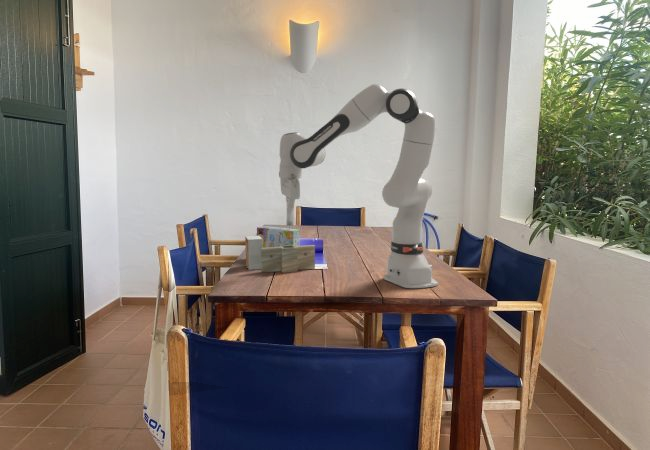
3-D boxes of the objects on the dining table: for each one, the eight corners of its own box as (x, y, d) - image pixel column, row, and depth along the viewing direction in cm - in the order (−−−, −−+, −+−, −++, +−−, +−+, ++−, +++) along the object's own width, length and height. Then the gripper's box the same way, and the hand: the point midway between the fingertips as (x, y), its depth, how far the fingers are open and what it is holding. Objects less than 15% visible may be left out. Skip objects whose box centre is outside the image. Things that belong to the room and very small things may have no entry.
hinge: (316, 270, 200) (316, 246, 198) (262, 273, 194) (262, 249, 192) (312, 266, 206) (312, 243, 204) (260, 270, 200) (260, 246, 198)
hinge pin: (294, 225, 195) (294, 193, 193) (287, 225, 194) (287, 193, 192) (292, 224, 197) (292, 193, 195) (285, 224, 197) (286, 193, 194)
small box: (245, 265, 208) (245, 236, 206) (260, 264, 210) (259, 235, 208) (248, 270, 200) (247, 239, 198) (263, 269, 202) (262, 238, 200)
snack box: (300, 262, 214) (300, 229, 212) (293, 264, 210) (292, 230, 207) (264, 256, 226) (263, 225, 224) (256, 259, 221) (255, 226, 219)
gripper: (304, 175, 183) (303, 211, 186) (292, 172, 203) (292, 204, 205) (288, 175, 181) (287, 211, 184) (278, 172, 201) (278, 204, 203)
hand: (290, 207), depth 195 cm, fingers closed on hinge pin, 3 cm apart
